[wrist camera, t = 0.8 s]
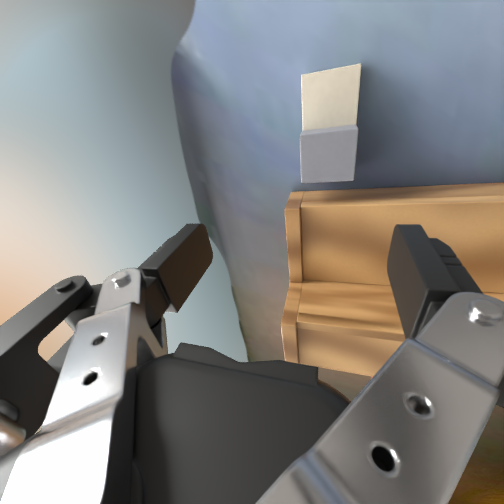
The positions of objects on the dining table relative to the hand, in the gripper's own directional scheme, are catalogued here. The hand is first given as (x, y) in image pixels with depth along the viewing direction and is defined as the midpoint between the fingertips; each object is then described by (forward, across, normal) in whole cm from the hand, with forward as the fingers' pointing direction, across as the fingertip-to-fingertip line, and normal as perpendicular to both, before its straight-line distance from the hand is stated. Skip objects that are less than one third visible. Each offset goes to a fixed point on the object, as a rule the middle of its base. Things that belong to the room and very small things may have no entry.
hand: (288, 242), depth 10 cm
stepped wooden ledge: (+16, -9, +13) cm, 23 cm away
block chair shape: (+16, -1, -2) cm, 16 cm away
